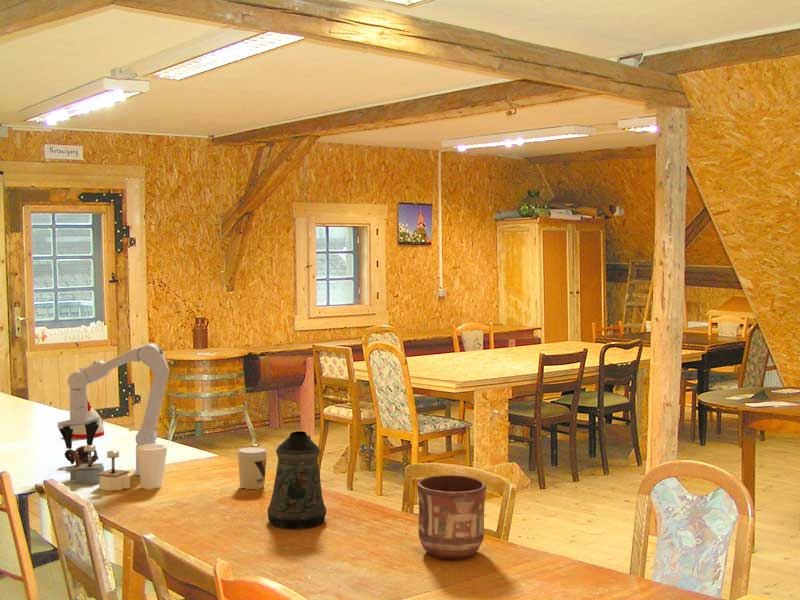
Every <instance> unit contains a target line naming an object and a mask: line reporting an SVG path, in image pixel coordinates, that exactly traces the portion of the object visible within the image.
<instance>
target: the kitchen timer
mask: <svg viewBox="0 0 800 600" xmlns="http://www.w3.org/2000/svg"><path fill="white" fill-rule="evenodd" d="M90 404H91V403H90V402H89V399H88V398H87V406H88V417H100V423H97V424H99V427H98V429H97V431H96V433H95V435H94V438H99V437H103V436H104V435H105V428H104V420H103V419H104V418H102V417H101V416H100V414H99V412H97V411H96V410H95V409H94V408H93V407H92V405H90ZM70 428H71V429H73V433H72V439H87V435H86V429H85V425H79V426H72V427H70ZM94 438H93V439H94Z"/></svg>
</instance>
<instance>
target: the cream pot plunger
mask: <svg viewBox="0 0 800 600" xmlns="http://www.w3.org/2000/svg"><path fill="white" fill-rule="evenodd" d="M106 456H107V457H106V458H108V459H111V469H112V473H115V469H116V467H115V466H116V465H115V464H116V463H115V459H116V458H119V457H120V451H119V450H109V451H107V452H106Z"/></svg>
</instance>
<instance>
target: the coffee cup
mask: <svg viewBox="0 0 800 600" xmlns="http://www.w3.org/2000/svg"><path fill="white" fill-rule="evenodd" d="M267 454H268V451H267V449H266V448H264V447H255V446H251V447H250V446H249V447H243V448H240V449H239V450H238V452H237V458H238V473H239V474H238V476H239V487H240V489H242V488H245V489H244V490H247V489H255V490H259V489H258V488H261V489H263V488H265V483H266V470H267V469H266V467H267ZM262 487H263V488H262Z"/></svg>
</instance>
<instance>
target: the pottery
mask: <svg viewBox="0 0 800 600" xmlns="http://www.w3.org/2000/svg"><path fill="white" fill-rule="evenodd" d="M416 486H417V488H416V489H417V495H418V496H417V497H418V526H417V527H418V529H417V530H418V538H419V541H420V544H421V545H422V548H423V550H424V551H426V552H427V553H428V555H430V556H431V557H433V558H436V559H440V560H447V561H458V560H459V559H461V560H464V559H469V558H471V557H473V555H474V554H476V553H477V551H479V549H480V547H481V546H482V543H483V541H484V538H485V502H486V501H485V500H486V493H487V485H486V483H485V482H484V481H482V480H480V479H478V478H475V477H471V476H465V475H457V474H456V475H453V474H450V475H449V474H443V475H432V476H426V477H424V478H422V479H419V480H418V481H417V485H416Z"/></svg>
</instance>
